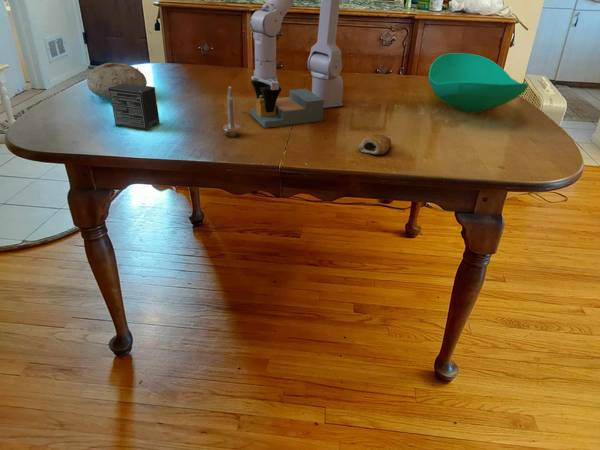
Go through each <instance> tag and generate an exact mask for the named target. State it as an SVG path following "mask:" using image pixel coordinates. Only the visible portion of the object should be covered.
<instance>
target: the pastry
mask: <svg viewBox="0 0 600 450" xmlns="http://www.w3.org/2000/svg"><path fill="white" fill-rule="evenodd" d="M391 145H392V139H391V138H389V137H388V136H386V135H383V134H369V135H367V136H364V137H363V139H362V140H361V142H360V144H359V145H358V149H359V150H360V153H364V154H372V155H375V156H381V155H384V154H386V153H388V151H389V149H390V147H391Z"/></svg>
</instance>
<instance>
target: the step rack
mask: <svg viewBox="0 0 600 450" xmlns="http://www.w3.org/2000/svg"><path fill="white" fill-rule="evenodd" d="M323 101H324V100H323V99H321V98H320V97H318V96H317V95H315V94H314V93H312V91H311V90H309V89H308V88H299V89H290V90H289V96H288V97H287V96H285V97H277V100H276V115H273V116H264V117H260V116H259V115H258V114H257V108H256V107H255V108H250V115H251V116H252V118H254V120H256V121H257V122H258V123H259V124H260V126H262V127H263V128H264V129H268V128H276V127H284V126H291V125H299V124H300V125H301V124H307V123H315V122H323V119H324V117H323V116H324V108H323Z"/></svg>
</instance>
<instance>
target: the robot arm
mask: <svg viewBox="0 0 600 450" xmlns="http://www.w3.org/2000/svg"><path fill="white" fill-rule="evenodd" d="M294 4H295V0H267V1H266V2H265V3H263V5H262V6H261V8H260V9H258V10H256V11H254V13H252V15H251V17H250V21H249V22H248V26H249V28H250V31H251V32H252V38H253V41H254V70H253V75H251V76H250V78H251V80H250V83H251V86H252V87H253V90H254V93H255V96H256V99H257V98H260V95H263V97H261V98H264V103H265V110H266V112H267V113H268V112H274V108H275V104H276V100H277V98H279V96H280V94H281V92H282V87H280V86H279V85H280V82H279V81H278V76H277V35H278V34H279V33H280V32H281V29H282V22H283V21H284V20H283V19H284V17H285V16H286V15H287V13H288V12H289V11H290V9H291V8H292V7H293V5H294ZM340 4H341V0H320V9H319V10H320V11H319V19H318V29H317V40H316V43H314V45H312V46H311V48H310V53H309V56H308V58H307V68H308V70H309V72H310V75H311V76H312V79H311V80H312V81H311V92H312V93H314V94H315V95H317V96H318V97H320V98H321V99H323V100H324V101H323V109H328V108H335V107H343V106H344V103H343V97H344V96H343V95H344V80H343V77H342V76H341V75H340V73H341V71H342V69H343V60H342V51H341V49H340V48H339V47H338V45H337V44H336V39H337V32H338V22H339V13H340Z"/></svg>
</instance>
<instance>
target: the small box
mask: <svg viewBox="0 0 600 450" xmlns="http://www.w3.org/2000/svg"><path fill="white" fill-rule="evenodd" d="M108 89H109V92H110V97H111V98H110V101H111V107H112V112H113V117H114V118H113V119H114V123H115V126H116V127H119V128H127V129H134V130H139V131H146V132H147V131H149V130H152V129H153V128H155V127H158V126H159V125H160V124H161V123H160V122H161V121H160V115H159V107H158V101H157V94H156V87H155V86H150V85H146V86H142V85H134V84H126V83H122V84H119V85H116V86H113V87H110V88H108Z"/></svg>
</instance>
